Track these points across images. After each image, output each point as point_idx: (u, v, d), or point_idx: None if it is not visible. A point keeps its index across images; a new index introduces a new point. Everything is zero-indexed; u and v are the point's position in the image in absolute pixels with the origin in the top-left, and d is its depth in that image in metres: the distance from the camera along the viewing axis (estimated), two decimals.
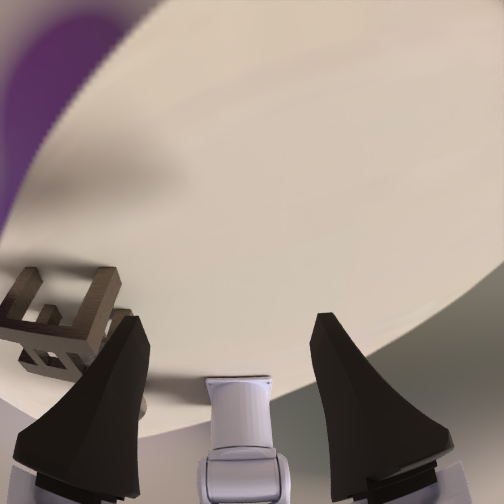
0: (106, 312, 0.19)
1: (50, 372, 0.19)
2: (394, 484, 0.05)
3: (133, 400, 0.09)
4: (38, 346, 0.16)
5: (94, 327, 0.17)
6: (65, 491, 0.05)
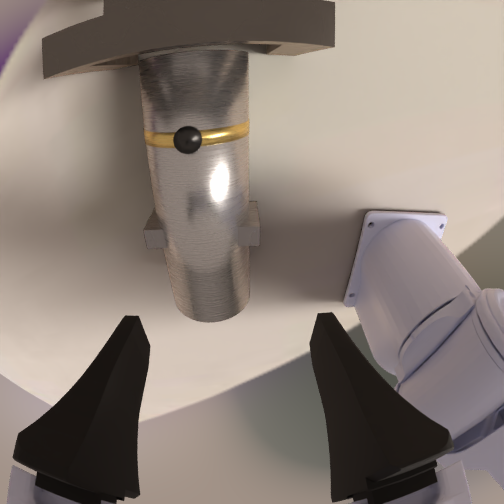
0: None
1: (130, 29, 0.07)
2: (394, 484, 0.05)
3: (133, 400, 0.09)
4: None
5: None
6: (65, 491, 0.05)
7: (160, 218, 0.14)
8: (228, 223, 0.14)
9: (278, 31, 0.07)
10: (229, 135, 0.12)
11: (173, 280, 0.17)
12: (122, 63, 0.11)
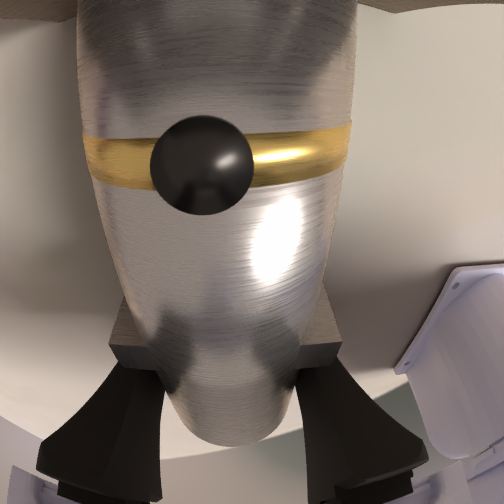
0: None
1: None
2: (365, 493, 0.05)
3: (156, 402, 0.09)
4: None
5: None
6: (65, 491, 0.05)
7: (138, 329, 0.06)
8: (287, 348, 0.06)
9: None
10: (326, 156, 0.04)
11: (173, 402, 0.09)
12: None
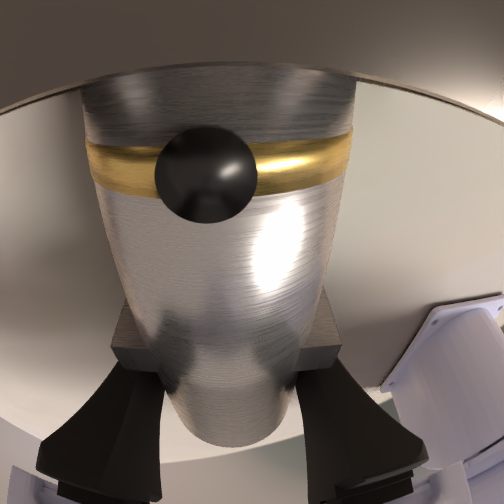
0: None
1: None
2: (366, 493, 0.05)
3: (155, 402, 0.09)
4: None
5: None
6: (65, 491, 0.05)
7: (140, 331, 0.07)
8: (287, 351, 0.06)
9: None
10: (328, 164, 0.04)
11: (173, 403, 0.09)
12: (59, 92, 0.05)
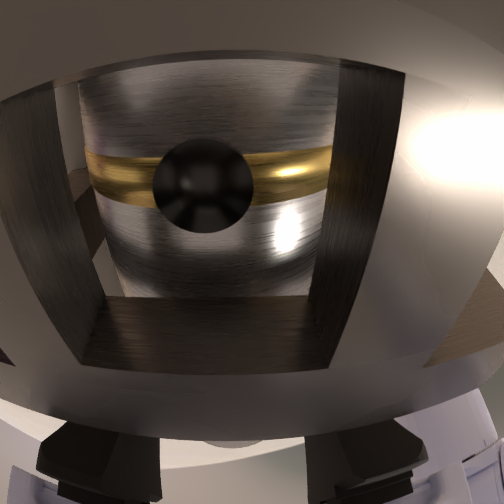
0: None
1: (103, 411, 0.03)
2: (365, 493, 0.05)
3: None
4: None
5: None
6: (65, 491, 0.05)
7: None
8: None
9: (424, 402, 0.04)
10: (324, 172, 0.04)
11: None
12: (92, 255, 0.07)
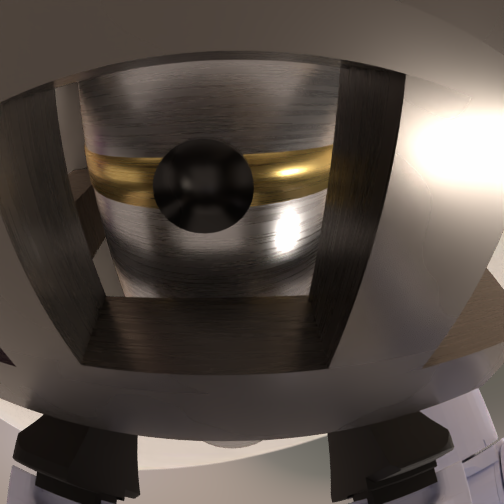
0: None
1: (103, 411, 0.03)
2: (394, 484, 0.05)
3: None
4: None
5: None
6: (65, 491, 0.05)
7: None
8: None
9: (424, 402, 0.04)
10: (324, 172, 0.04)
11: None
12: (92, 255, 0.07)
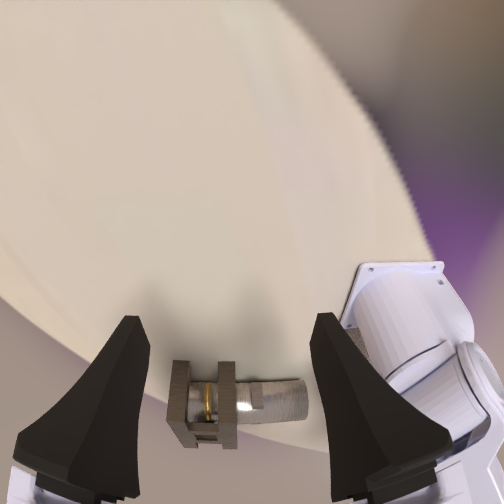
0: (180, 390, 0.26)
1: (229, 441, 0.28)
2: (394, 484, 0.05)
3: (133, 400, 0.09)
4: (191, 437, 0.27)
5: (171, 408, 0.25)
6: (65, 491, 0.05)
7: None
8: (248, 414, 0.28)
9: (232, 429, 0.25)
10: (208, 412, 0.28)
11: None
12: None
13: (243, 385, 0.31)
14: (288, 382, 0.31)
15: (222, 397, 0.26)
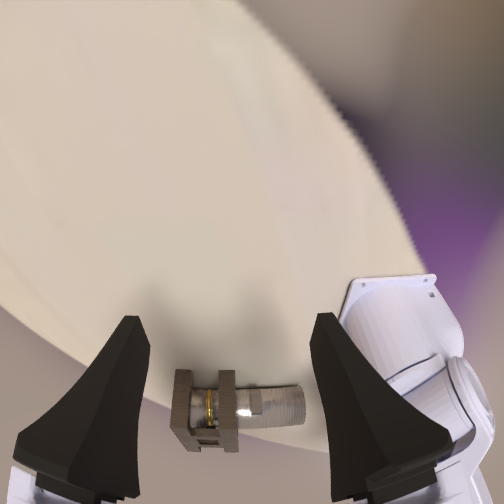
0: (183, 398, 0.27)
1: (230, 445, 0.29)
2: (394, 484, 0.05)
3: (133, 400, 0.09)
4: (194, 442, 0.28)
5: (174, 415, 0.26)
6: (65, 491, 0.05)
7: None
8: (248, 419, 0.29)
9: (233, 434, 0.26)
10: (209, 418, 0.29)
11: None
12: None
13: (243, 391, 0.32)
14: (286, 388, 0.32)
15: (223, 404, 0.27)
